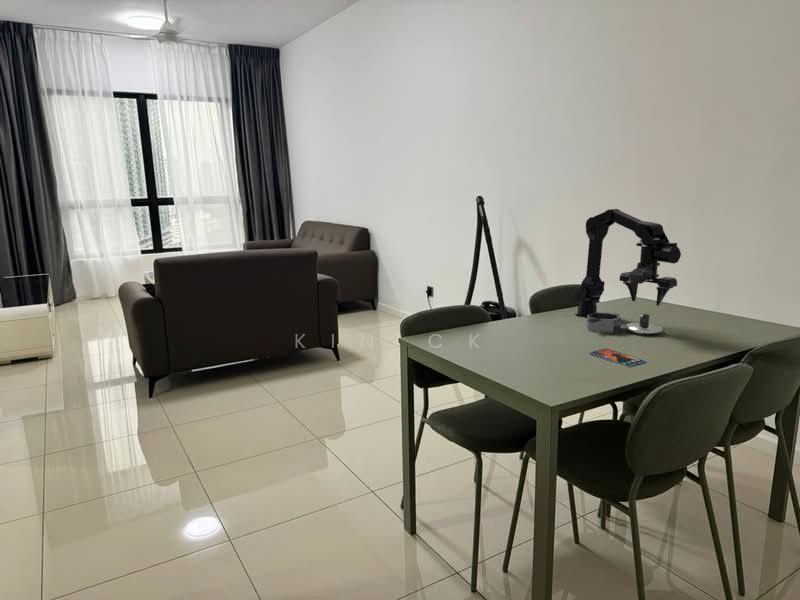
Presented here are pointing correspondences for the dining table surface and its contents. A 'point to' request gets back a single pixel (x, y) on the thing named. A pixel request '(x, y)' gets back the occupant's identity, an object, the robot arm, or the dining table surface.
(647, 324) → the lid
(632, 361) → the smartphone
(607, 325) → the pot
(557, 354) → the dining table surface
